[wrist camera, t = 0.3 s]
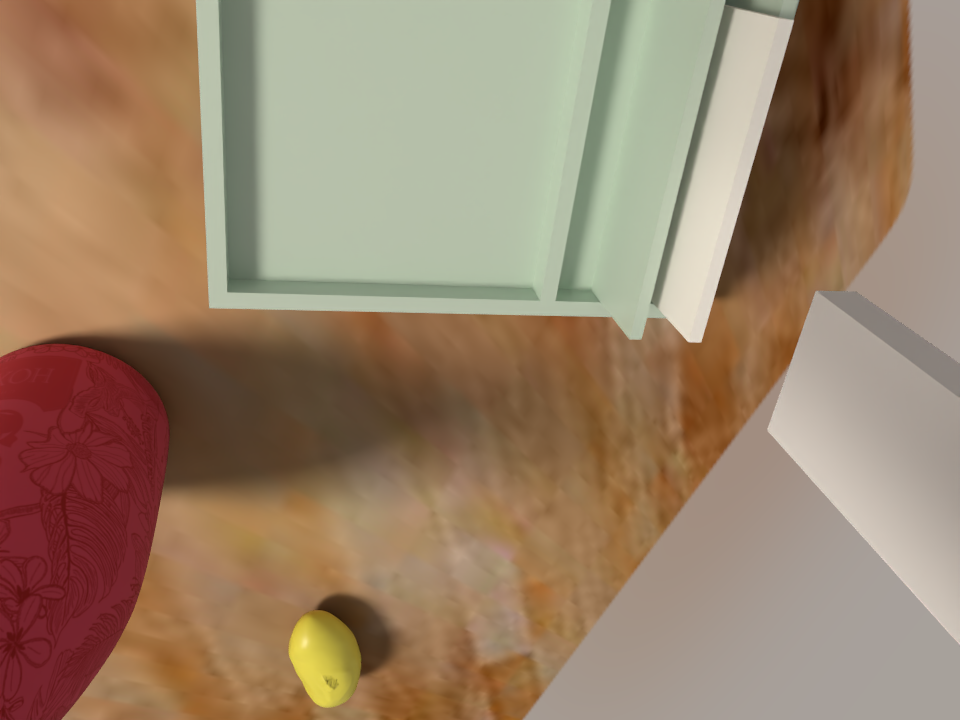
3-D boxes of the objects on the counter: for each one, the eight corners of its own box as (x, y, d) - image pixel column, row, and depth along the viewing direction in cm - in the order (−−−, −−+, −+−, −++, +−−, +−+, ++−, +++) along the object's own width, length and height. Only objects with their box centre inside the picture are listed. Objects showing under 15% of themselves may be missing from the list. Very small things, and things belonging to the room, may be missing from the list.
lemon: (303, 682, 53) (304, 734, 49) (280, 598, 49) (279, 648, 45) (366, 668, 53) (371, 719, 50) (348, 584, 49) (352, 633, 46)
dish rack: (197, -127, 30) (165, -138, 22) (779, -42, 36) (912, -28, 28) (213, 285, 38) (194, 381, 30) (686, 298, 44) (770, 382, 36)
